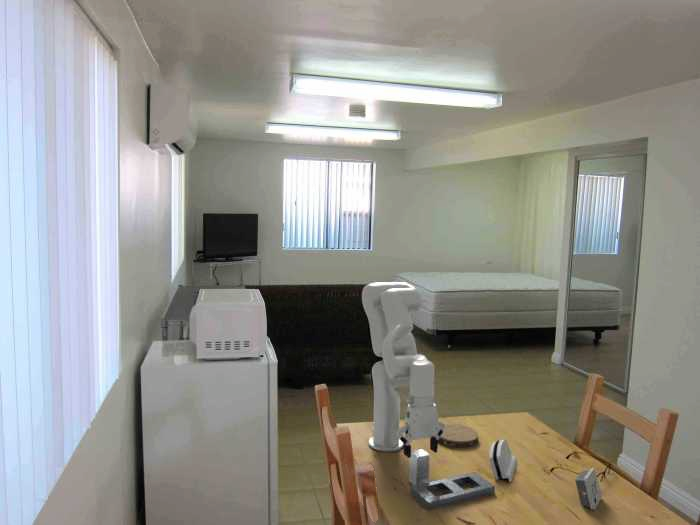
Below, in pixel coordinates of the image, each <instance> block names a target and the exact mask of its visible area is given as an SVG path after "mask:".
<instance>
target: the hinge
mask: <svg viewBox="0 0 700 525" xmlns="http://www.w3.org/2000/svg"><path fill="white" fill-rule="evenodd" d="M489 462H490V466H491V469H492V472H493V478H494V479H495V480H496V481H497V480H499V479H500V478H501V479H502V480H504V479H508V481H509V482H510V483H511V482H512V481H513V476H514V474H515V470H516V466H517V463H518V461H517V457H516V456H515V455H514V454H512V452H511V449H510V446H509V443H508V441H507V439H500V440H495V441H493V443H491V446H490V450H489Z"/></svg>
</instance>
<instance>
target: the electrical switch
mask: <svg viewBox="0 0 700 525" xmlns="http://www.w3.org/2000/svg"><path fill="white" fill-rule="evenodd" d="M597 475H598V474H597V472H596V469H595V468H594V467H591V468H590V469H589V470H581V471H580V472H579V474H578V476H577V477H576V479H575V485H576V489H577V494H578V497H579V498H578V499H579V502H580V506H581V507H589V508H590V510H591V511H593V510H596V508H597V506H598V505H599V503H600V501H601V500H602V493H601V488H600V484H599V479H598V477H597Z"/></svg>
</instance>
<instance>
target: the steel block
mask: <svg viewBox="0 0 700 525" xmlns="http://www.w3.org/2000/svg"><path fill="white" fill-rule="evenodd" d="M408 460H409V464H408V465H409V467H408V471H409V472H408V482H409V483H410V484H411V485H412V486H415V485H420V484H424V483H428V482H430V481H429V480H430V454H429V453H428V452H427V451H425V450H424V449H423V448H420V449H415V450H411V457H410V458H408Z"/></svg>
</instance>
